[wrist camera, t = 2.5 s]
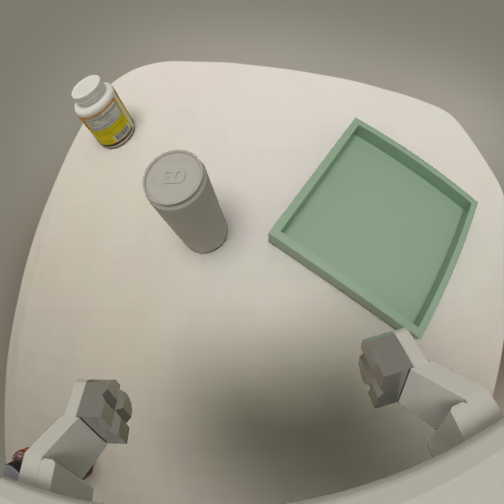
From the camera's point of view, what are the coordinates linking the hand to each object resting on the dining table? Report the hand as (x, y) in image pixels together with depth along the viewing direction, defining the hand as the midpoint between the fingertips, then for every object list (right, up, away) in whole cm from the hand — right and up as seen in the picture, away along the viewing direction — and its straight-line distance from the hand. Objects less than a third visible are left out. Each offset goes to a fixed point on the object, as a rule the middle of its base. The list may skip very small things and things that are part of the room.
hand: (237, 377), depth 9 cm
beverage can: (-4, +6, +23) cm, 24 cm away
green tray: (+15, +7, +22) cm, 28 cm away
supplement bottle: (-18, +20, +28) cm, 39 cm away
